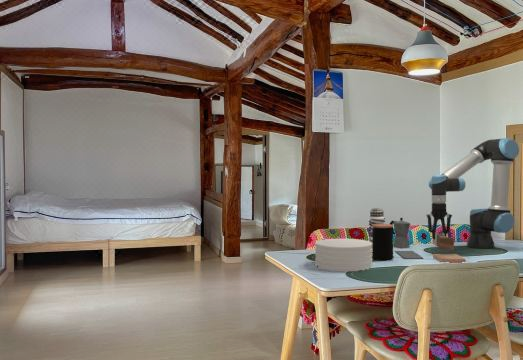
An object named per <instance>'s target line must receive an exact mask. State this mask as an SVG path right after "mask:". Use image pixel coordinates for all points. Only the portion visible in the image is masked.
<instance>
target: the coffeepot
mask: <svg viewBox="0 0 523 360" xmlns="http://www.w3.org/2000/svg"><path fill="white" fill-rule="evenodd" d="M399 219H400V220H398V221H397V220H391V221H390V223H389V224H390V225H393V227H392V229H393V235H395V237H394V240H393V248H395V249H396V248H397V249H408V248H410V241H409V237H408V234H409V229H410V227H411V223H410V222H408V221H404V220H403V217H400V218H399Z"/></svg>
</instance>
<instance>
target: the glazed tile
mask: <svg viewBox="0 0 523 360" xmlns="http://www.w3.org/2000/svg"><path fill="white" fill-rule="evenodd" d="M432 259H434V260H435V259H436V261H437V262H439V263H440V262H449V263H448V264H463V263H462V262H466V263H467V259H466V258H465V257H463V256H461V255H459V254H457V253H433V254H432Z"/></svg>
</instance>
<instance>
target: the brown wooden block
mask: <svg viewBox="0 0 523 360" xmlns="http://www.w3.org/2000/svg"><path fill="white" fill-rule="evenodd" d="M436 234H437V245H435V247H438V249H439V250H441V251H442V250H443V251H444V250H446V251H447V250H449V251H450V250H453V251H454V250H455V245H454V244H455V241H454V240H455V238H454V237H449V236H447V235H446V236H444V235H442V233H436ZM432 240H433V243H432V245H434V239H432Z"/></svg>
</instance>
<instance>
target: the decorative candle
mask: <svg viewBox="0 0 523 360" xmlns="http://www.w3.org/2000/svg"><path fill="white" fill-rule="evenodd" d="M369 212H370V216H369V221H368V222H369V223H368V225H369V233H370V237H369V242H371V243H372V247H371V248H372V251H373V237H372V230H373V226H372V225H374V224H384V223H385V222H386V218H385V215H384V214H385V211H384V210H383V209H382V208H378V207H377V208H375V207H373V208H371V210H370V211H369Z"/></svg>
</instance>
